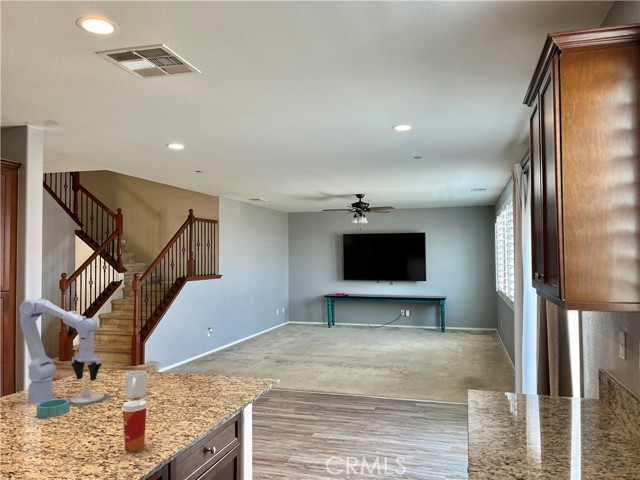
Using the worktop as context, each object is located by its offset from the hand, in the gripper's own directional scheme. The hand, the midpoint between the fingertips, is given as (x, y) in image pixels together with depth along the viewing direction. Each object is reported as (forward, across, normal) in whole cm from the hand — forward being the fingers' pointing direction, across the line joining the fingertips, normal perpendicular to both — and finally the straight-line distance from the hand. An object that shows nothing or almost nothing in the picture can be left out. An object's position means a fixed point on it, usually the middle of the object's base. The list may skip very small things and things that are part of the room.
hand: (86, 379), depth 195 cm
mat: (+9, -2, +2) cm, 10 cm away
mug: (+10, +16, +11) cm, 22 cm away
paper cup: (+10, +55, -31) cm, 64 cm away
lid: (+9, -2, +2) cm, 9 cm away
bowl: (+9, 0, -15) cm, 18 cm away
